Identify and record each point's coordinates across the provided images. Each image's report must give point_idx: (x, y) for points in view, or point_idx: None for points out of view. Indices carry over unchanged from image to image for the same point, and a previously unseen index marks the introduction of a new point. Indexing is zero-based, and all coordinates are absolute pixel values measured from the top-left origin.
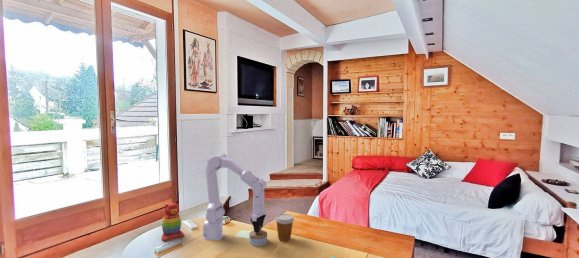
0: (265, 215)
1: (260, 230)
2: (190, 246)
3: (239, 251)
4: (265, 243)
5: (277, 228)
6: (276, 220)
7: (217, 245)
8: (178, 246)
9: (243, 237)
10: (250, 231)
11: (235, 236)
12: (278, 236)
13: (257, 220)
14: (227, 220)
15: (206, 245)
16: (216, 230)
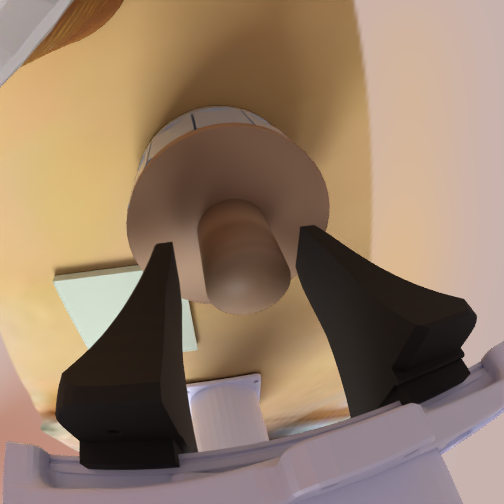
0: (144, 385)
1: (260, 227)
2: (316, 400)
3: (360, 247)
4: (243, 111)
5: (70, 32)
6: (28, 42)
7: (300, 356)
8: (317, 414)
9: (184, 310)
10: (75, 312)
11: (189, 348)
12: (97, 24)
13: (461, 350)
14: (46, 418)
15: (304, 379)
16: (261, 425)
